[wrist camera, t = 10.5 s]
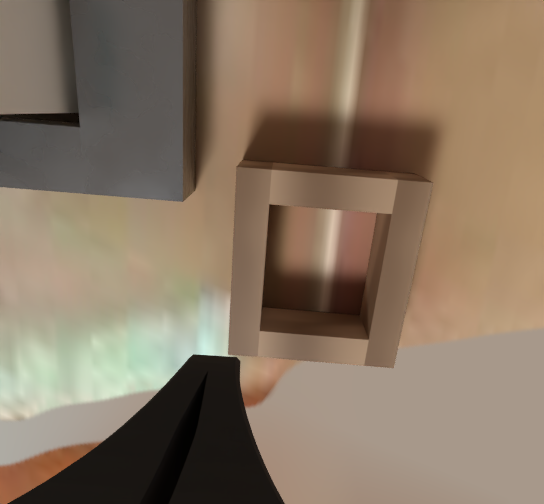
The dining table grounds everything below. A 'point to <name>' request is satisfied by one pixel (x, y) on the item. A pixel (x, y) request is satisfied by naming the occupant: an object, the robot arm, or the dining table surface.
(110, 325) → the dining table surface
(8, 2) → the plug
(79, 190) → the port
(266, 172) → the frame
